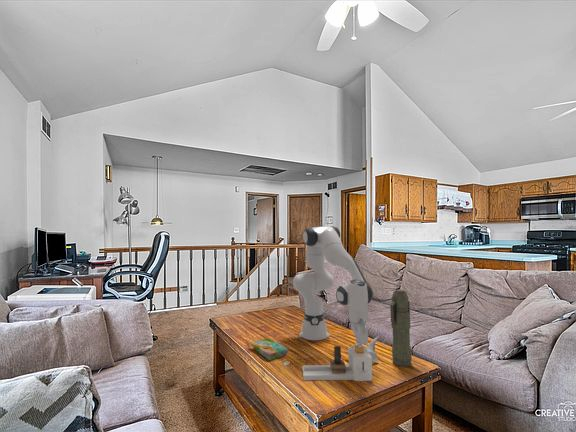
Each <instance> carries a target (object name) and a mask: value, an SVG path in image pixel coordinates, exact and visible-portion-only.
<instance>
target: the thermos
mask: <svg viewBox="0 0 576 432" xmlns="http://www.w3.org/2000/svg"><path fill="white" fill-rule="evenodd" d="M410 305H411V304H410V300H409V296H408V293H407V291H405V290H401V289H400V290H399V289H398V290H393V292H392V295H391V302H390V323H391V327H392V348H391V354H392V355H391V357H392V363H393V365H395V366H398V367H402V368H408V367H411V366H412V349H411V341H410V340H411V335H410V329H411V309H410V307H411V306H410Z"/></svg>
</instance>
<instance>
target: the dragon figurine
mask: <svg viewBox="0 0 576 432" xmlns="http://www.w3.org/2000/svg"><path fill="white" fill-rule="evenodd" d="M379 338H380V335H378V336H376V337H374V338H373V339H371V341H370V342H369V343H368V344H367V347H366V346H364V345H365V344H362V346H363V347H366V349H367V351H368V352H369V354H370V355H371V357H372V365H375V362H379V356H378V354H377V353H376V343H377V342H378V339H379ZM356 345H357V342H356V343H354V346H353V347H355V346H356ZM346 354H347V355H348V348H347V349H346ZM347 358H348V359H349V356H347Z"/></svg>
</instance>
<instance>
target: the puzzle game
mask: <svg viewBox="0 0 576 432" xmlns="http://www.w3.org/2000/svg"><path fill="white" fill-rule="evenodd" d="M250 346H251V347H252V348H253V349H254V350H255V351H256V352H257V353H258V354H260V355H261V356H263V357H264V358H265V359H267V360H269V361H272V360H275V359H279V358H282V357H285V356H286V355H287V354H288V352H289V351H288V350H289V349H288V348H286V347H285V346H283V345H282V344H280V343H279V342H276V341H274V340H273V339H271V338H269V337H268V338H263V339H260V340H255V341H252V342H250Z"/></svg>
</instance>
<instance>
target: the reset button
mask: <svg viewBox="0 0 576 432" xmlns="http://www.w3.org/2000/svg"><path fill="white" fill-rule="evenodd" d="M364 347H365V346H364ZM364 347H363V346H362V348H358V346H357V345H356V346H355V352H357V353H363V352H364Z"/></svg>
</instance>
